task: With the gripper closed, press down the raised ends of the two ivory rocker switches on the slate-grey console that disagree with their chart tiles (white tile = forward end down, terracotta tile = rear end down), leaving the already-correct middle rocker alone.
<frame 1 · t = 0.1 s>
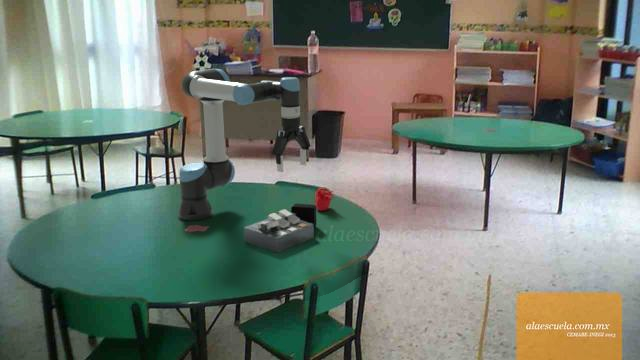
hand: (292, 168, 256), 28 cm above the table, fingers open, 13 cm apart
electronic device: (304, 228, 269), on the table
rocker mid: (278, 220, 254), point 8 cm above the table, hinge at 15.0°
rocker far: (289, 216, 258), point 8 cm above the table, hinge at 15.0°
console: (279, 239, 256), on the table
heart organ: (323, 209, 292), on the table
rocker near: (268, 224, 249), point 8 cm above the table, hinge at -15.0°
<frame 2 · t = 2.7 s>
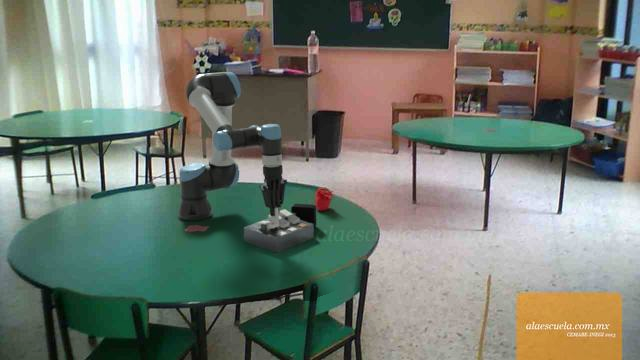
hand: (275, 223, 246), 10 cm above the table, fingers closed
rocker near: (268, 224, 249), point 8 cm above the table, hinge at -8.9°, touching gripper
everything else where it was.
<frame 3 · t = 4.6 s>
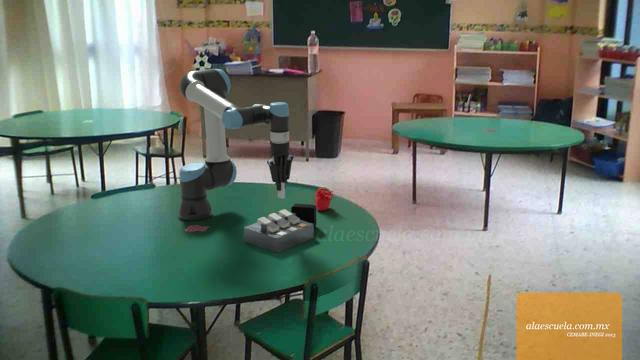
hand: (281, 197, 257), 16 cm above the table, fingers closed
rocker near: (268, 224, 249), point 8 cm above the table, hinge at 14.4°
everything else where it was.
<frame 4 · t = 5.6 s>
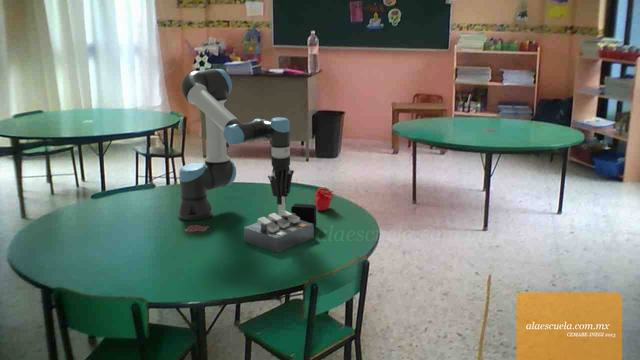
hand: (281, 211, 260), 10 cm above the table, fingers closed
rocker far: (289, 216, 258), point 8 cm above the table, hinge at 8.1°, touching gripper
rocker near: (268, 224, 249), point 8 cm above the table, hinge at 15.0°
everything else where it was.
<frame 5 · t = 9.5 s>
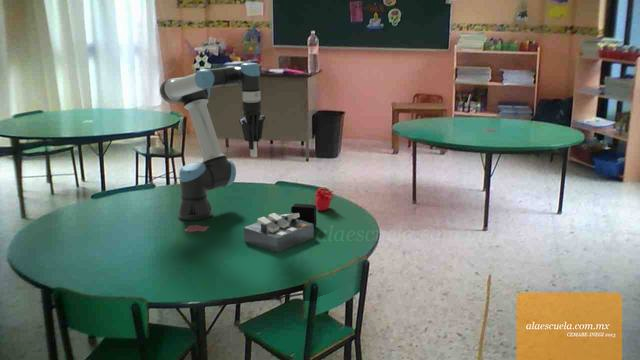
hand: (253, 156, 265), 30 cm above the table, fingers closed
rocker far: (289, 216, 258), point 8 cm above the table, hinge at -16.5°
everything else where it was.
at the end: rocker near at +15° (first picture: -15°); rocker far at -16° (first picture: +15°); rocker mid at +15° (first picture: +15°) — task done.
